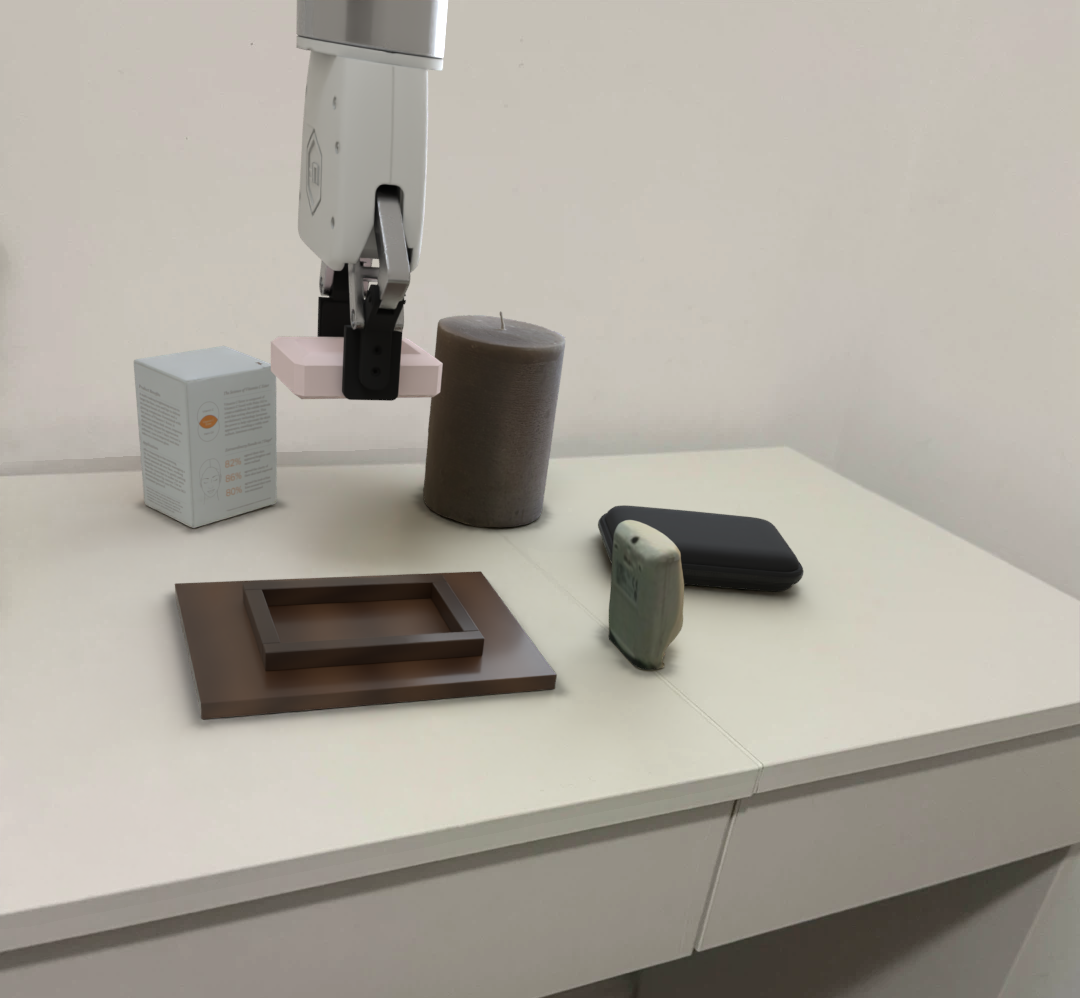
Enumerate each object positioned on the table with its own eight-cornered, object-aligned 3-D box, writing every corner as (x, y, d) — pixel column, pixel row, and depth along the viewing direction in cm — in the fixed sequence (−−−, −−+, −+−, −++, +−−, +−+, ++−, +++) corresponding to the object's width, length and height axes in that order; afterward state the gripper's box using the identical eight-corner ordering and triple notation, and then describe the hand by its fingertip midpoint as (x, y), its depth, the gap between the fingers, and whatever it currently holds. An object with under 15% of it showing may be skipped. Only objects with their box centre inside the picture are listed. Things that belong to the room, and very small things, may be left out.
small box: (229, 482, 82) (225, 343, 77) (279, 505, 80) (279, 363, 74) (141, 505, 77) (130, 357, 71) (191, 530, 74) (185, 379, 69)
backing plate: (201, 719, 55) (199, 683, 54) (175, 597, 66) (173, 565, 64) (554, 689, 62) (560, 657, 61) (479, 584, 73) (483, 555, 72)
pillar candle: (454, 533, 80) (474, 328, 72) (404, 486, 87) (416, 294, 79) (564, 523, 84) (594, 329, 77) (508, 479, 91) (530, 297, 83)
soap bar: (268, 374, 64) (268, 333, 62) (408, 374, 68) (411, 335, 67) (296, 402, 60) (296, 359, 59) (442, 400, 64) (446, 359, 63)
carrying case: (765, 542, 87) (589, 526, 85) (774, 507, 85) (595, 490, 83) (804, 601, 78) (609, 585, 76) (815, 563, 76) (616, 546, 74)
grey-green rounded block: (572, 645, 67) (592, 527, 63) (614, 620, 71) (636, 508, 67) (649, 679, 65) (675, 560, 61) (689, 651, 69) (716, 537, 65)
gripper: (266, 9, 59) (266, 340, 69) (338, 22, 46) (326, 428, 56) (396, 30, 62) (379, 345, 72) (498, 48, 49) (460, 430, 59)
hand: (356, 378), depth 64 cm, fingers closed on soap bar, 5 cm apart
